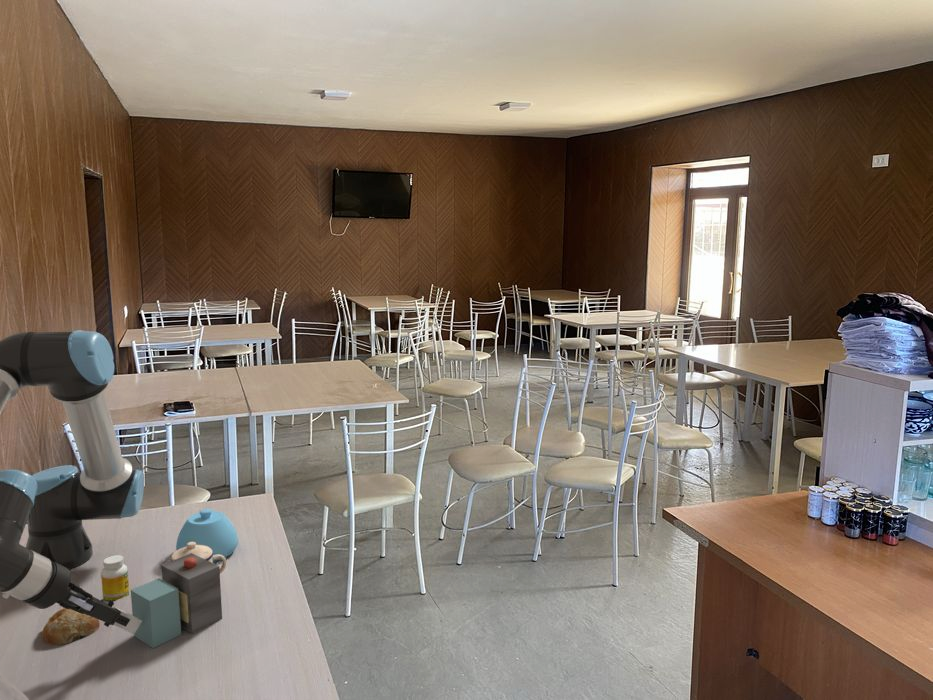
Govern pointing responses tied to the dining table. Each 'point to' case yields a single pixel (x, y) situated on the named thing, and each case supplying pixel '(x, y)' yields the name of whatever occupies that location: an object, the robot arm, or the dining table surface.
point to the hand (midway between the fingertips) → (136, 626)
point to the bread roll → (68, 627)
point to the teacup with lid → (199, 553)
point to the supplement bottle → (114, 579)
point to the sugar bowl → (209, 532)
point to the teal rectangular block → (156, 612)
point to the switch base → (195, 590)
